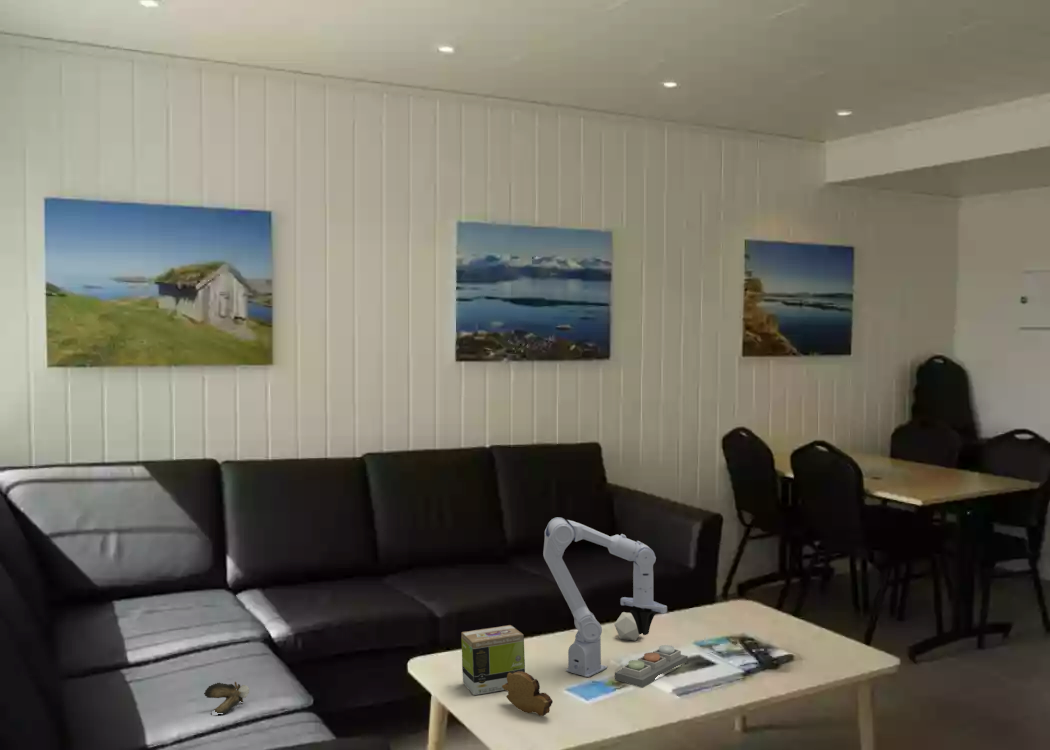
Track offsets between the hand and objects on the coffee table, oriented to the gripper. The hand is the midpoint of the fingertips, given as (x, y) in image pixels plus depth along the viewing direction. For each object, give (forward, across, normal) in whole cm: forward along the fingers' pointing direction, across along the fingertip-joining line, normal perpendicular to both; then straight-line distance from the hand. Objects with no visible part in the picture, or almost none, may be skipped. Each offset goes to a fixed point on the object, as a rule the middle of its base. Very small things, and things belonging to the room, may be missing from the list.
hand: (643, 633), depth 265 cm
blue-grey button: (+6, -4, -6) cm, 10 cm away
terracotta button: (+6, -4, +2) cm, 8 cm away
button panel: (+9, -4, +2) cm, 10 cm away
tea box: (+10, +24, +38) cm, 46 cm away
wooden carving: (+10, +6, +45) cm, 47 cm away
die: (+10, +17, -18) cm, 27 cm away
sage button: (+6, -4, +10) cm, 13 cm away
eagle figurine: (+10, +68, +92) cm, 115 cm away
